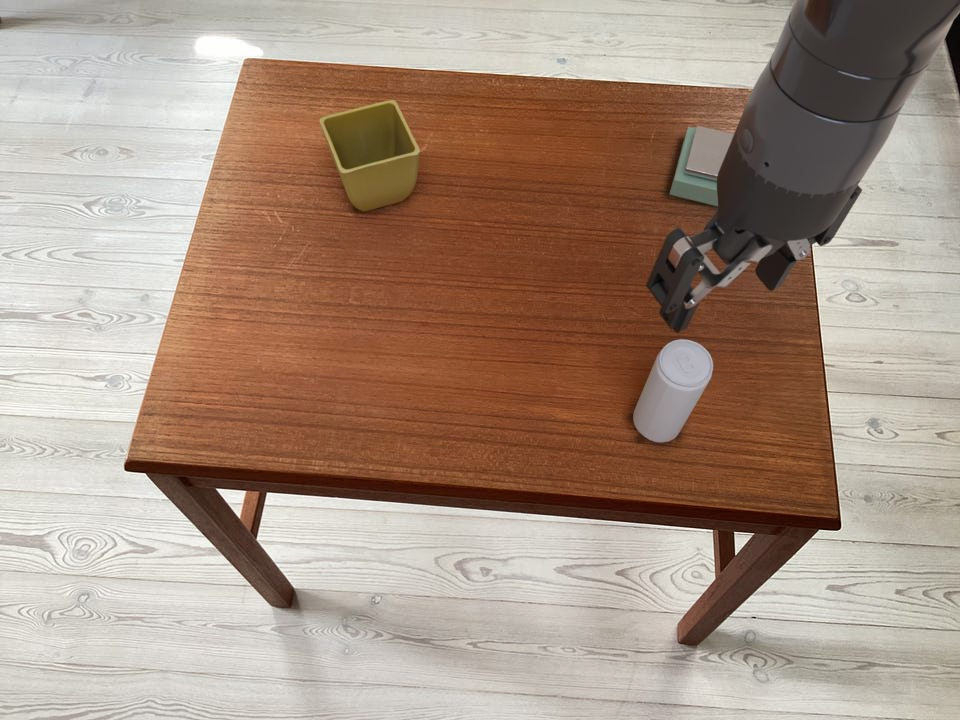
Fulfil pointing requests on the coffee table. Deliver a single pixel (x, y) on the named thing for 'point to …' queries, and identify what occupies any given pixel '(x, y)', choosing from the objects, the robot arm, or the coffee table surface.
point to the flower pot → (373, 154)
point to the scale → (692, 178)
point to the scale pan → (707, 152)
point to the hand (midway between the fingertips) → (720, 301)
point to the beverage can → (672, 389)
